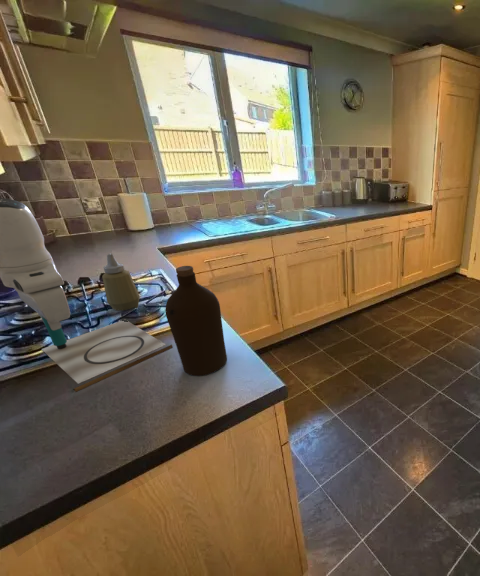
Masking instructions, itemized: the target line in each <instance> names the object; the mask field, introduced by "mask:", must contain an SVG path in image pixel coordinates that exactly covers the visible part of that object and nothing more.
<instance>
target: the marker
mask: <svg viewBox="0 0 480 576" xmlns="http://www.w3.org/2000/svg"><path fill="white" fill-rule="evenodd" d="M41 317H42V316H41ZM41 317H40V318H41ZM42 319H43V321H44V323H45V324H44V323H43V324H44V326H45V328H46V330H47V333H48V335H49V337H50V339H51V342H52V345H54V346H57V348H58V349H63V348H65V347H67V345H66V342H67V340H68V339H67V337H66V335H65V333H64V330H63V328H62V327H61V328H60V329H57V330H52V329H50V328H49V325H48V322H47V320H46V319H45V318H43V317H42V318H41V320H42ZM43 321H42V322H43Z"/></svg>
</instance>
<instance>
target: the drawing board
mask: <svg viewBox="0 0 480 576" xmlns="http://www.w3.org/2000/svg"><path fill="white" fill-rule="evenodd" d="M66 340H67V342H66V345H67V347H65V348H63V349H58V348H57V346H54V344H52V345H49V346H46V347H44V348H41V351H42V352H44V353H45V354H46V355H47V356H48V357H49V358H50V359H51V360H52V361H53V362H54V363H55V364H56V365H57V366H58V367H59V368H60V369H61V370H63V371H64V372H65V374H67V375H68V376H69V377H70V378H71V379H72V380H73V381H74V382H75V383H76V384H78V385H79V384H81V385H79V386H76V387H74V388H72V390H73V391H74V392H75V393H78V392H79V391H82V390H84V389H86V388H88V387H90V386H93V385H95V384H97V383H99V382H101V381H103V380H106V379H108V378H110V377H112V376H114V375H116V374H119V373H121V372H123V371H125V370H127V369H130V368H132V367H135V366H136V365H138V364H141V363H142V362H144V361H147V360H149V359H152V358H154V357H156V356H158V355H160V354H162V353H164V352H167V351H169V350H171V349H173V348H174V346H173V344H170V345H168V346H167V344H166V343H164V342H162V341H161V340H160V339H158V338H156V337H154V336H153V335H151V334H149V333H148V332H146V331H145V330H143V329H142V328H140V327H139V326H137V325H135V324H133V323H132V322H130V321H128V322H124V321H122V320H120V321H117V322H114V323H111V324H108V325H106V326H103V327H100V328H96V329H94V330H91V331H88V332H86V333H83V334H80V335H77V336H75V337H71V338H70V339H66ZM160 348H161V349H160ZM153 351H154V352H153ZM151 352H152V353H151ZM149 353H150V354H149ZM144 355H145V356H144ZM142 356H143V357H142ZM140 357H141V358H140ZM137 358H139V359H137ZM133 360H134V361H133ZM130 361H132V362H130ZM129 362H130V363H129ZM126 363H127V364H126ZM122 365H123V366H122ZM120 366H121V367H120ZM118 367H119V368H118ZM115 368H116V369H115ZM113 369H114V370H113ZM110 370H112V371H110ZM109 371H110V372H109ZM103 373H105V374H103ZM99 375H101V376H99ZM97 376H99V377H97ZM95 377H96V378H95ZM92 378H94V379H92ZM90 379H92V380H90ZM88 380H90V381H88ZM86 381H88V382H86ZM83 382H84V383H83ZM85 382H86V383H85ZM82 383H83V384H82Z"/></svg>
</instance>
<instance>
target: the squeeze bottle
mask: <svg viewBox="0 0 480 576" xmlns="http://www.w3.org/2000/svg"><path fill="white" fill-rule="evenodd" d="M106 263H107V264H106V265H104V266H103V271H104V274H102V275H101V276H102V277H101V278H102V282H103V288H104V292H105V298H106V301H107V304H108V305H109V307H111V308H112V310H114V311H118V312H119V311H120V312H122V311H127V310H131V309H134V308H135V309H138V308H139V305H140V297H141V295H140V294H139V292H138V289H137V287H136V284H135V282H134V279H133V277H132V275H131V273H130V271H129V270H127V269H125V266H124V264H123V263H120V262H118V261H117V259H116V257H115V255H114V254H113V253H111V252H110V253H107V254H106Z"/></svg>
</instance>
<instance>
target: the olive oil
mask: <svg viewBox="0 0 480 576" xmlns="http://www.w3.org/2000/svg"><path fill="white" fill-rule="evenodd" d="M175 272H176V279H177V282H178V286H177V287H176V288H175V290H174V291H173V292H172V293H171V295H169V298H168V299H167V300H166V304H165V317H166V320H167V323H168V326H169V328H170V331H171V334H172V337H173V341H174V343H175V347H176V349H177V352H178V356H179V358H180V362H181V365H182V369H183V371H184V372H185V374H187V375H189V376H193V377H201V376H207V375H210V374H213V373H215V372H217V371H219V370H221V369H222V368H223V367H224V366H225V365H226V363H227V361H228V357H227V350H226V349H227V348H226V344H225V337H224V328H223V320H222V313H221V312H222V311H221V304H220V301H219V299H218V297H217V296H216V294H215V293H214V292H213V291H211V290H210V289H208V288H206V287H205V286H203V285H202V284H199V283H198V282H197V277H196V273H195V272H194V267H193V266H192V265H182V266H179V267H176V268H175Z"/></svg>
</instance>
